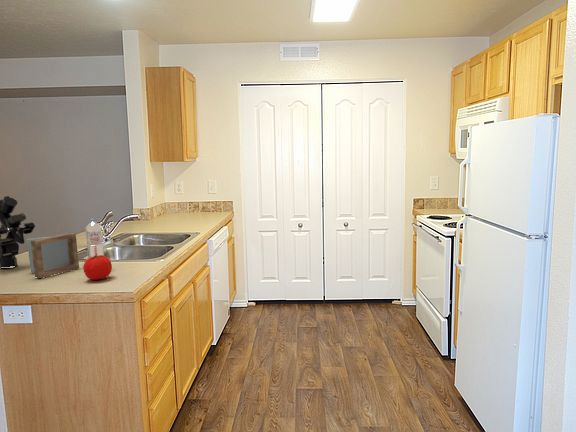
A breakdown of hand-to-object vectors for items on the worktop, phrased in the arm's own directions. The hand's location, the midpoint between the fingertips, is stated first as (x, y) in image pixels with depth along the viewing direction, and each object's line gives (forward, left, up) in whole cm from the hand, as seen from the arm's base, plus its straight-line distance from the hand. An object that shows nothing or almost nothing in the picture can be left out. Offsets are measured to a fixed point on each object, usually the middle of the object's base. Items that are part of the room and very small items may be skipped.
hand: (22, 243), depth 218 cm
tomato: (+41, -26, -14) cm, 51 cm away
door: (+13, -3, -13) cm, 19 cm away
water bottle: (+36, -10, -14) cm, 40 cm away
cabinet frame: (+18, -10, -14) cm, 25 cm away
